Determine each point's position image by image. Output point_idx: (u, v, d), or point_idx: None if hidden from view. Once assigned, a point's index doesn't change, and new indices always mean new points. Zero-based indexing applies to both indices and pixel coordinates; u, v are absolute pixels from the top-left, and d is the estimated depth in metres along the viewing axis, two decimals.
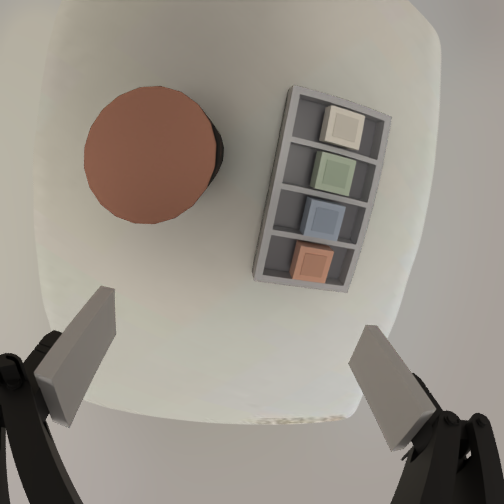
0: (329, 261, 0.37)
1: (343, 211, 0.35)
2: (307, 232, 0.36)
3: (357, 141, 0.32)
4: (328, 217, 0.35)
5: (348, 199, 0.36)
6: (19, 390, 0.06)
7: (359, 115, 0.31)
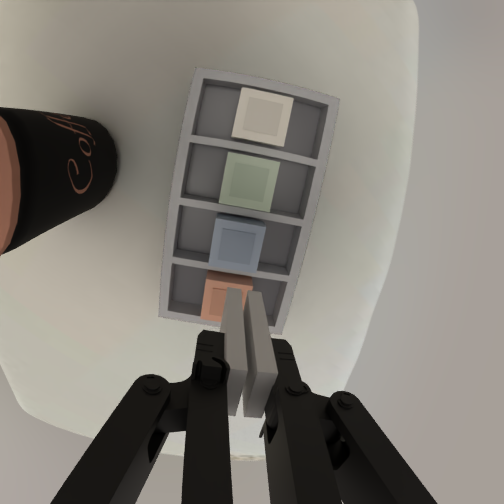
0: None
1: (262, 233, 0.27)
2: (213, 262, 0.27)
3: (281, 134, 0.24)
4: (240, 242, 0.27)
5: (274, 215, 0.28)
6: (214, 390, 0.09)
7: (284, 98, 0.23)
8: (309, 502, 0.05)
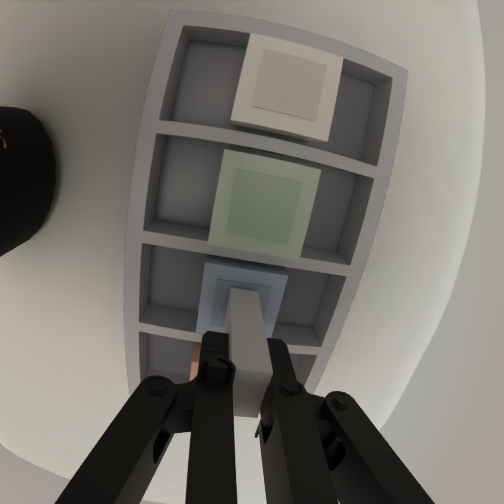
0: None
1: (282, 285, 0.16)
2: (203, 327, 0.17)
3: (323, 119, 0.12)
4: None
5: (304, 260, 0.16)
6: (220, 391, 0.09)
7: (328, 55, 0.11)
8: (305, 503, 0.05)
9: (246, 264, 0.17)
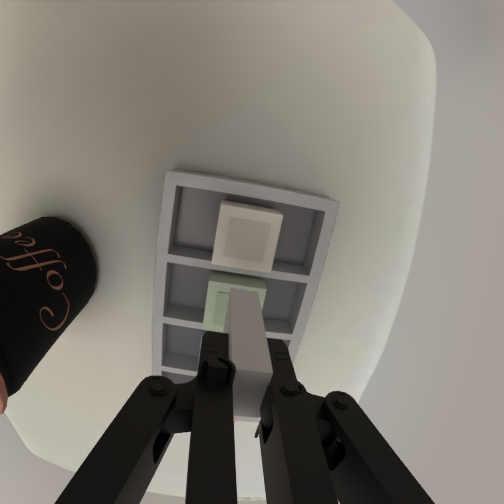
0: None
1: None
2: None
3: (268, 259, 0.22)
4: None
5: None
6: (220, 391, 0.09)
7: (272, 215, 0.21)
8: (305, 503, 0.05)
9: None
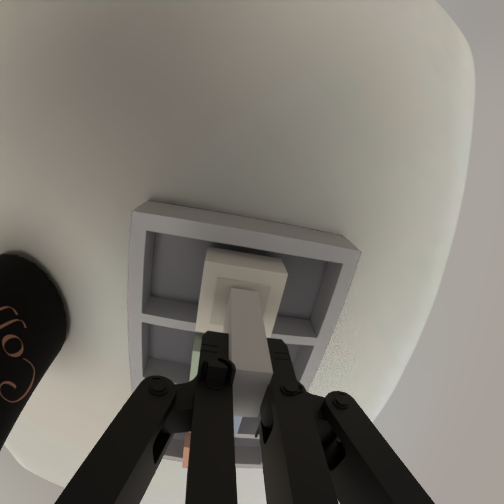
0: None
1: None
2: None
3: (266, 326, 0.17)
4: None
5: None
6: (220, 391, 0.09)
7: (273, 275, 0.16)
8: (305, 503, 0.05)
9: None
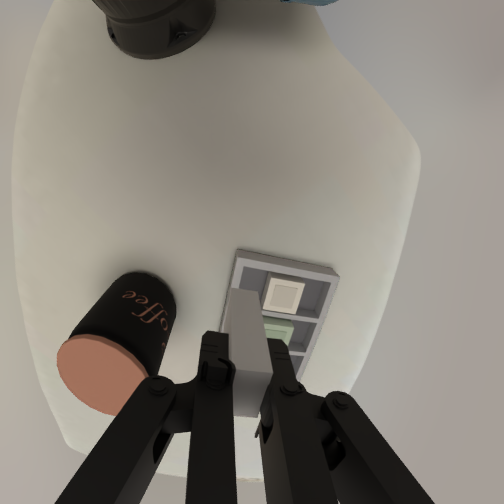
0: None
1: None
2: None
3: (294, 307, 0.39)
4: None
5: None
6: (220, 391, 0.09)
7: (299, 284, 0.38)
8: (305, 503, 0.05)
9: None
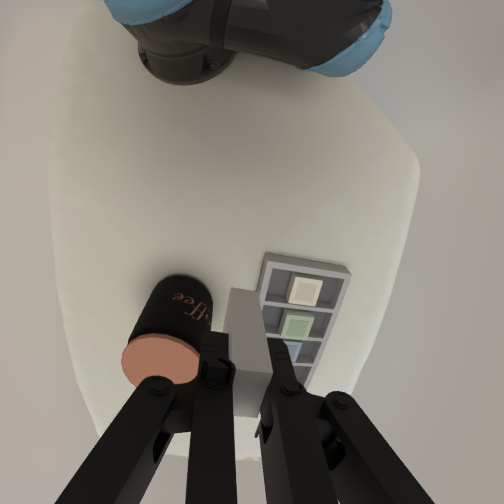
0: None
1: (300, 345, 0.49)
2: None
3: (314, 300, 0.46)
4: (289, 350, 0.49)
5: (307, 338, 0.49)
6: (219, 391, 0.09)
7: (318, 281, 0.45)
8: (305, 503, 0.05)
9: (289, 339, 0.49)
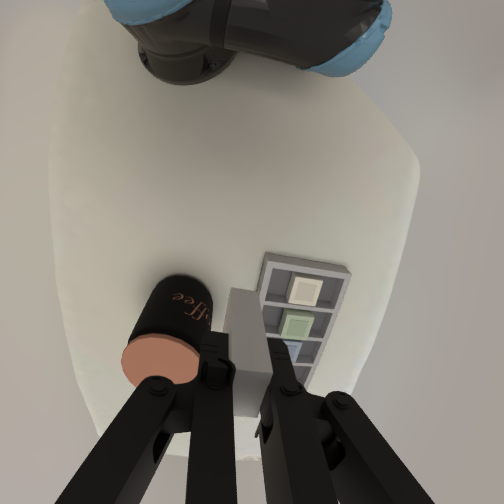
0: None
1: (300, 345, 0.49)
2: None
3: (314, 300, 0.46)
4: (289, 350, 0.49)
5: (307, 338, 0.49)
6: (220, 391, 0.09)
7: (318, 281, 0.45)
8: (305, 503, 0.05)
9: (289, 339, 0.49)
